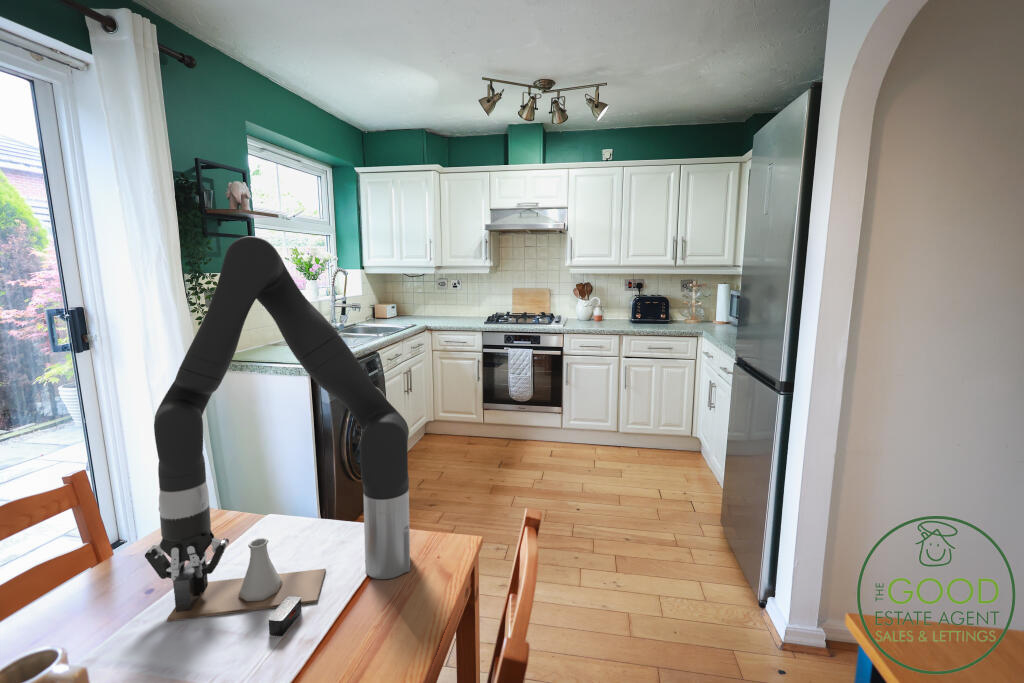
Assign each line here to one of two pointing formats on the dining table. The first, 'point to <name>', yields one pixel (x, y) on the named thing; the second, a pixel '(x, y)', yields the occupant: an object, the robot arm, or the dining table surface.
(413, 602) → the dining table surface
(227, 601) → the strip
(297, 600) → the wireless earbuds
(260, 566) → the flask
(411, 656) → the dining table surface
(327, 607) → the dining table surface
